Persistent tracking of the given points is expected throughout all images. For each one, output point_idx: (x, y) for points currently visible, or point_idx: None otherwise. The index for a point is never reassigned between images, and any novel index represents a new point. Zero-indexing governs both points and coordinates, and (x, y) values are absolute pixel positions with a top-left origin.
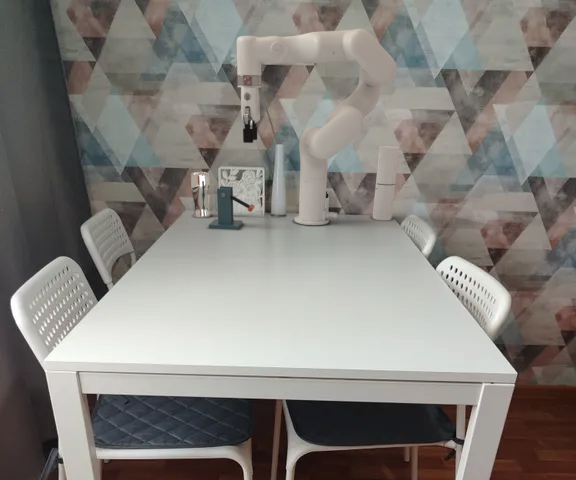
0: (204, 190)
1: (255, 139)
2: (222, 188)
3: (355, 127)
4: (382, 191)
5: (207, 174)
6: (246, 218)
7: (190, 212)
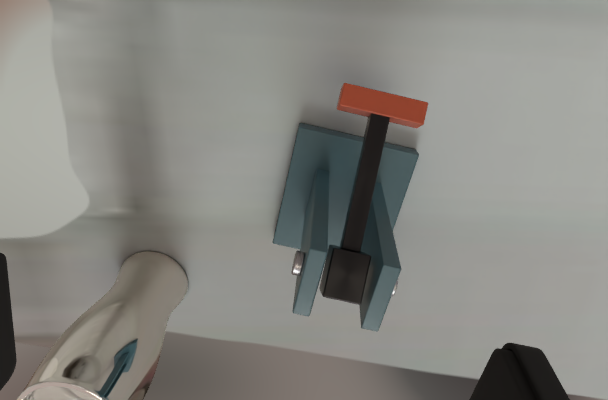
0: (149, 345)
1: (6, 266)
2: (373, 305)
3: None
4: None
5: (91, 391)
6: (180, 96)
7: None
